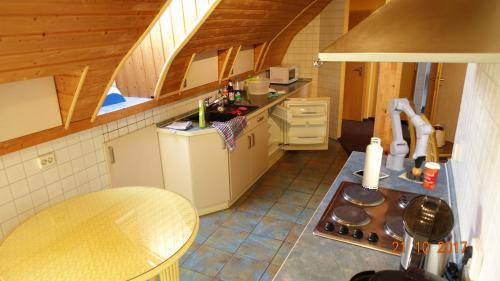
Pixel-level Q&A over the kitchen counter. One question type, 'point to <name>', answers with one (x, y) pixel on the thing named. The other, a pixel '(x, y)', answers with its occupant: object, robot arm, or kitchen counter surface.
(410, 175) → the dark brown round dish
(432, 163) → the paper cup
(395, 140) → the robot arm
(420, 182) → the mat
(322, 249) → the kitchen counter surface
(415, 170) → the tan rounded lump
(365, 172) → the bottle
